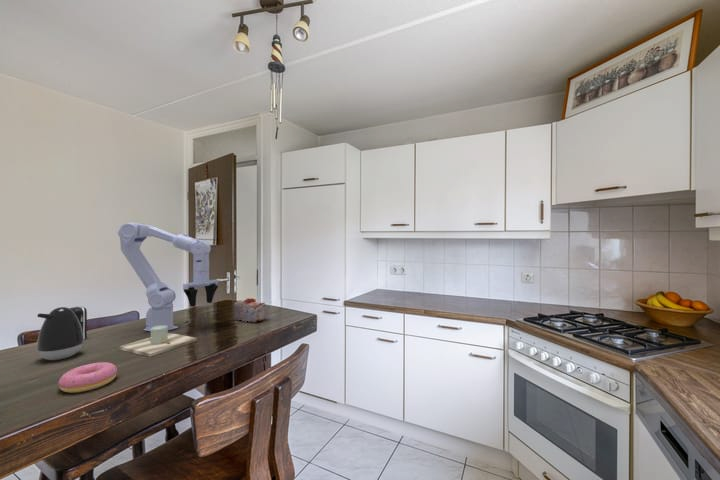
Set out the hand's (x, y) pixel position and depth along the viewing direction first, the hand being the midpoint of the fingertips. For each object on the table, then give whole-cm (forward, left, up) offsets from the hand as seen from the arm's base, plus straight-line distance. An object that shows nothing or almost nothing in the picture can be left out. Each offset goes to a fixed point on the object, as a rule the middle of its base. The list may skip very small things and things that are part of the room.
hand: (201, 304), depth 123 cm
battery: (-29, -28, -10) cm, 41 cm away
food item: (+10, +16, -10) cm, 21 cm away
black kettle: (-12, -39, -10) cm, 42 cm away
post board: (+5, -20, -9) cm, 23 cm away
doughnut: (+17, -45, -10) cm, 49 cm away
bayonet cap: (+5, -20, -8) cm, 22 cm away
